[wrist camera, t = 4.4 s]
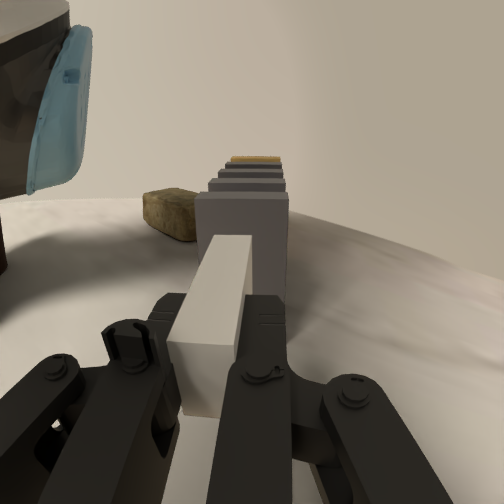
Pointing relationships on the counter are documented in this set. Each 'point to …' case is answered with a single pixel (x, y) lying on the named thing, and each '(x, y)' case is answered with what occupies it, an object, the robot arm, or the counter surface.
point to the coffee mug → (2, 253)
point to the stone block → (171, 212)
